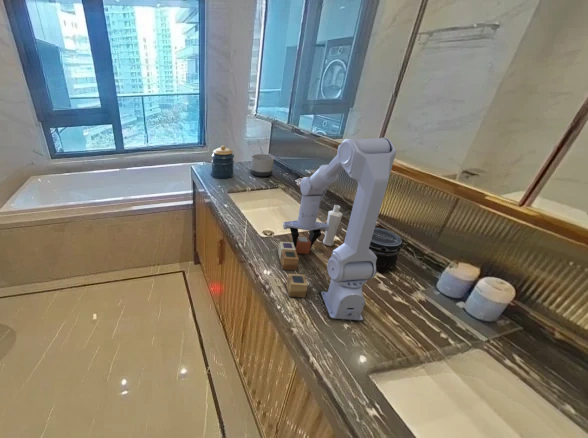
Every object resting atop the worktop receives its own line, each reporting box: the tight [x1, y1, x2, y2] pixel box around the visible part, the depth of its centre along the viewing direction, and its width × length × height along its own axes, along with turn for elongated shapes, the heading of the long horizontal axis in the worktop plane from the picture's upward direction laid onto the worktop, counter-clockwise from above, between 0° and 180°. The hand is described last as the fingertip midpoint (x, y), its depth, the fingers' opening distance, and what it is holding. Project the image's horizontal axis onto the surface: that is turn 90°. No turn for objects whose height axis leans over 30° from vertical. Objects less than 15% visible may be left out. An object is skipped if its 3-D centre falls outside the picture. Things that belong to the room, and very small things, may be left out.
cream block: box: [277, 241, 296, 261], centre depth 96 cm, size 4×4×5 cm
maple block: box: [285, 273, 309, 298], centre depth 81 cm, size 4×4×5 cm
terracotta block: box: [295, 235, 311, 255], centre depth 99 cm, size 4×4×5 cm
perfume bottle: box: [322, 204, 344, 247], centre depth 100 cm, size 5×4×15 cm
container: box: [369, 227, 404, 272], centre depth 92 cm, size 13×13×10 cm
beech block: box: [279, 250, 300, 271], centre depth 91 cm, size 4×4×5 cm
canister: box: [211, 145, 235, 179], centre depth 165 cm, size 13×13×18 cm
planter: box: [249, 153, 275, 178], centre depth 167 cm, size 13×13×10 cm
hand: (301, 246), depth 99 cm, fingers closed on terracotta block, 4 cm apart
